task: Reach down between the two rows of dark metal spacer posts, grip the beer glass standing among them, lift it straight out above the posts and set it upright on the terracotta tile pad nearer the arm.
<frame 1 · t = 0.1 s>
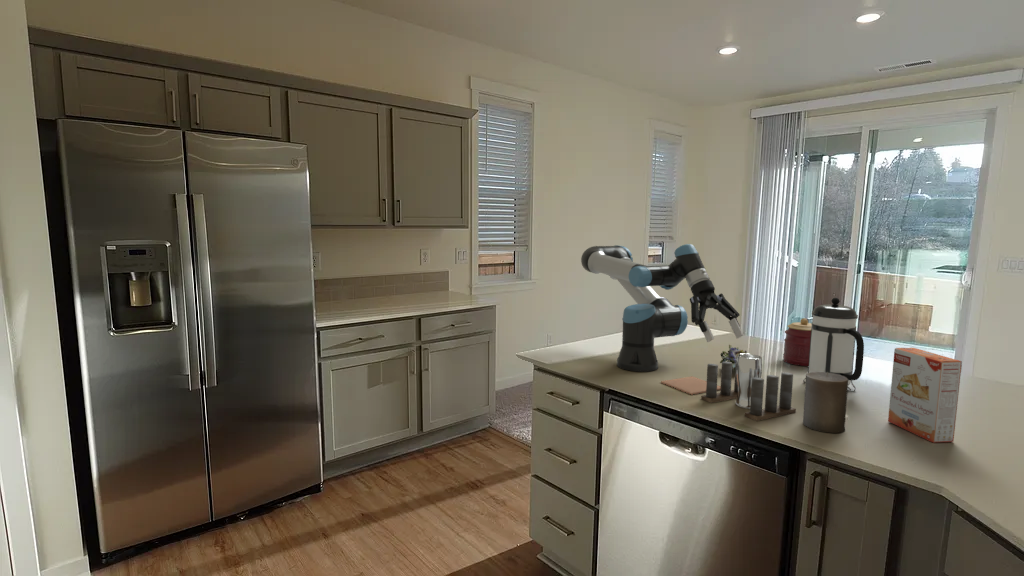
hand: (725, 338, 173), 15 cm above the table, tool tilted 35°, fingers open, 13 cm apart
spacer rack: (746, 405, 153), on the table
cracker box: (918, 432, 133), on the table
passion flower: (733, 372, 189), on the table
pillar candle: (822, 427, 137), on the table
canister: (801, 363, 202), on the table
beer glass: (746, 406, 153), on the table
tile pad: (691, 386, 171), on the table
coffee press: (832, 388, 170), on the table
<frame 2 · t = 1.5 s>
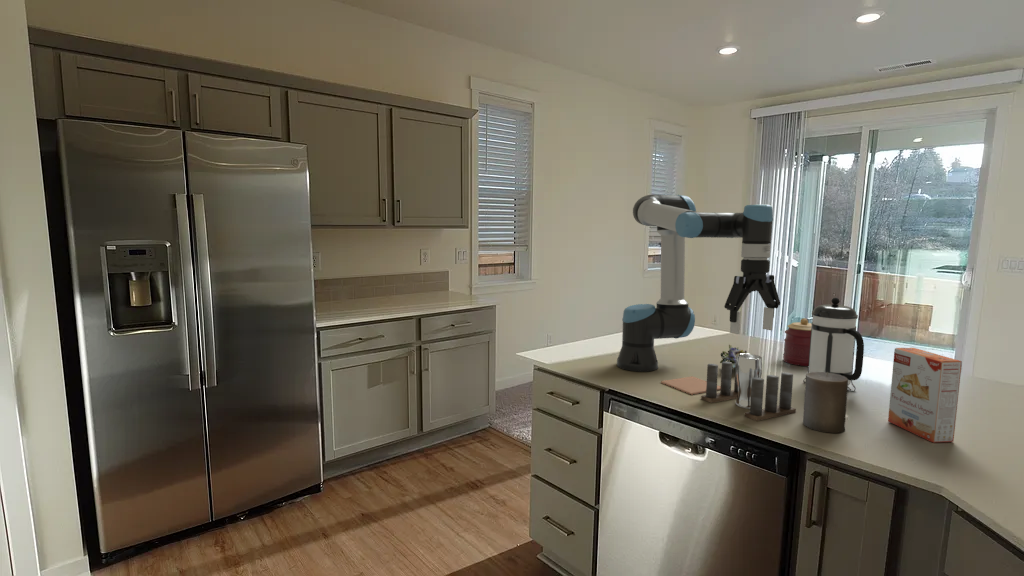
hand: (751, 331, 150), 22 cm above the table, tool pointing down, fingers open, 13 cm apart
nothing on the table moved.
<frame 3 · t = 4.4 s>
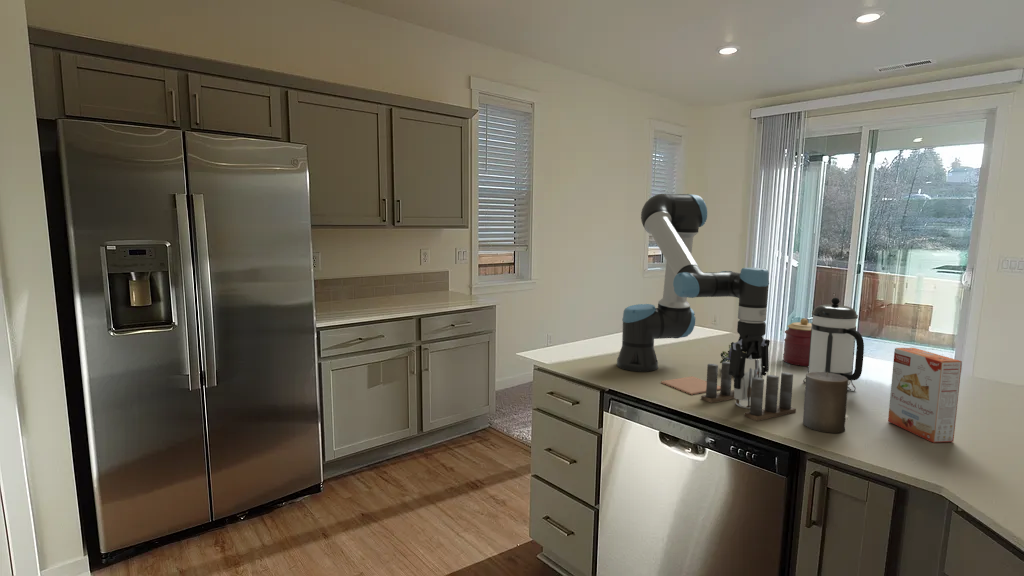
hand: (747, 397, 152), 2 cm above the table, tool pointing down, fingers closed on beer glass, 6 cm apart
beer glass: (746, 405, 153), on the table, touching gripper
everything else where it was.
when the fingers open (4 cm above the table, at t = 10.6 s): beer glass drops 1 cm, resting on tile pad.
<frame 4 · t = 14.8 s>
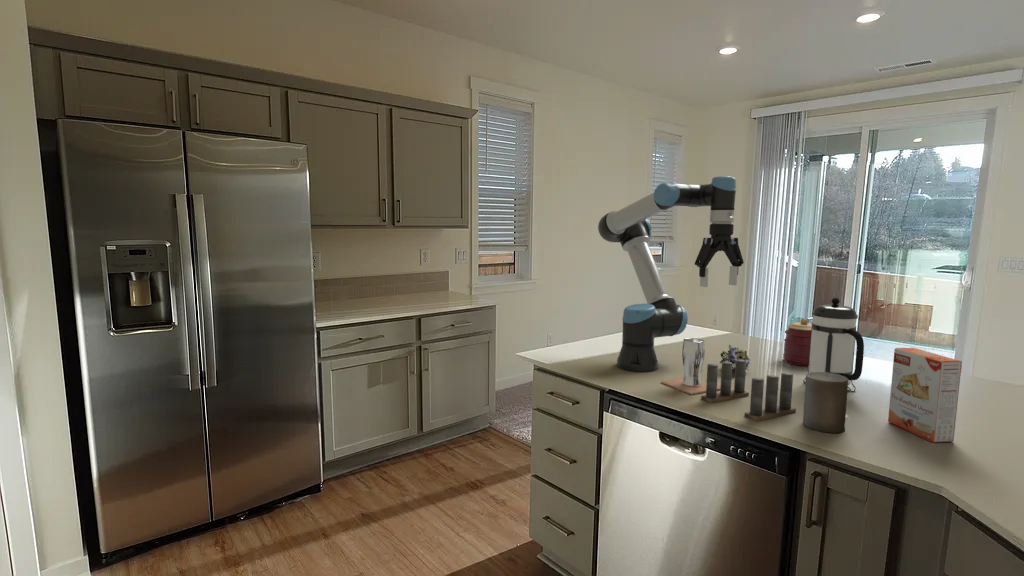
hand: (718, 286, 176), 33 cm above the table, tool pointing down, fingers open, 13 cm apart
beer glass: (691, 384, 171), resting on tile pad
everything else where it was.
at the end: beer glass inside the target area on the tile pad (0.1 cm from its centre), point 0.4 cm above the tile pad's base; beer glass tilted 0°; the gripper is holding nothing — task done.
